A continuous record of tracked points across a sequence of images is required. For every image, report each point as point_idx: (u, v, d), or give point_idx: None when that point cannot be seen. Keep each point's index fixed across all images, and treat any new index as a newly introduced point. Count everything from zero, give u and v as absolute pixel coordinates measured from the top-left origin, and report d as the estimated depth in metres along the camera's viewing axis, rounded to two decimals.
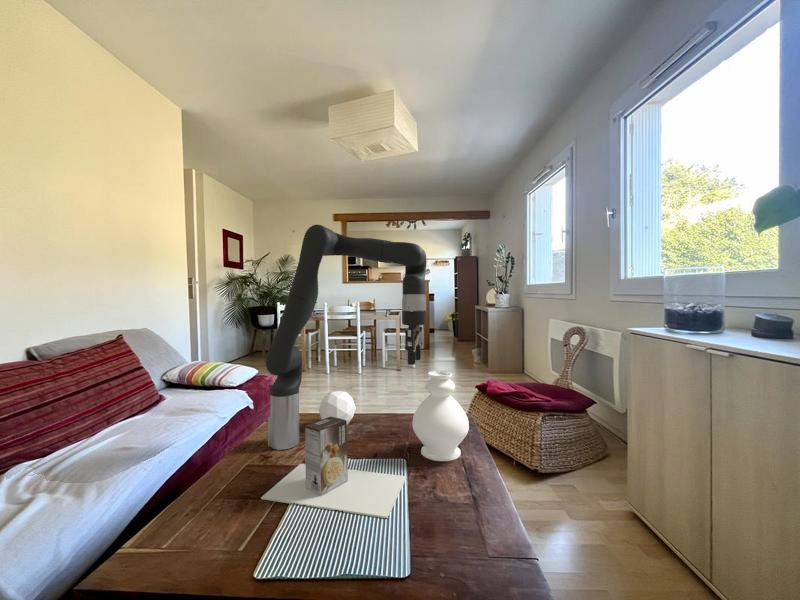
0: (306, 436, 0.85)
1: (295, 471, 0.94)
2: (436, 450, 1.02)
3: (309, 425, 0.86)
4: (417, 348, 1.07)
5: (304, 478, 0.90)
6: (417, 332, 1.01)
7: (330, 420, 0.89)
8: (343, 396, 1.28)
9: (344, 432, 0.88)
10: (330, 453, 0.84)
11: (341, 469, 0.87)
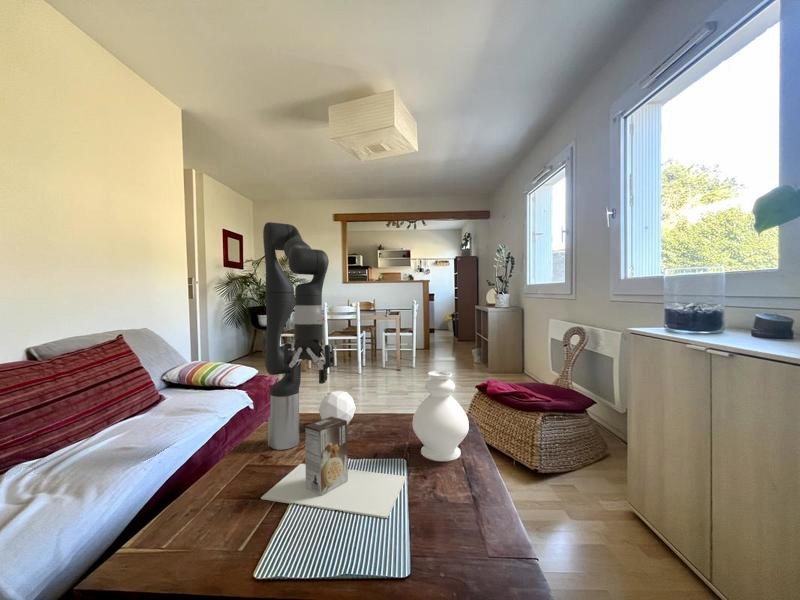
0: (306, 436, 0.85)
1: (295, 471, 0.94)
2: (436, 450, 1.02)
3: (309, 425, 0.86)
4: (296, 367, 0.93)
5: (304, 478, 0.90)
6: None
7: (330, 420, 0.89)
8: (343, 396, 1.28)
9: (344, 433, 0.88)
10: (331, 453, 0.84)
11: (341, 469, 0.87)
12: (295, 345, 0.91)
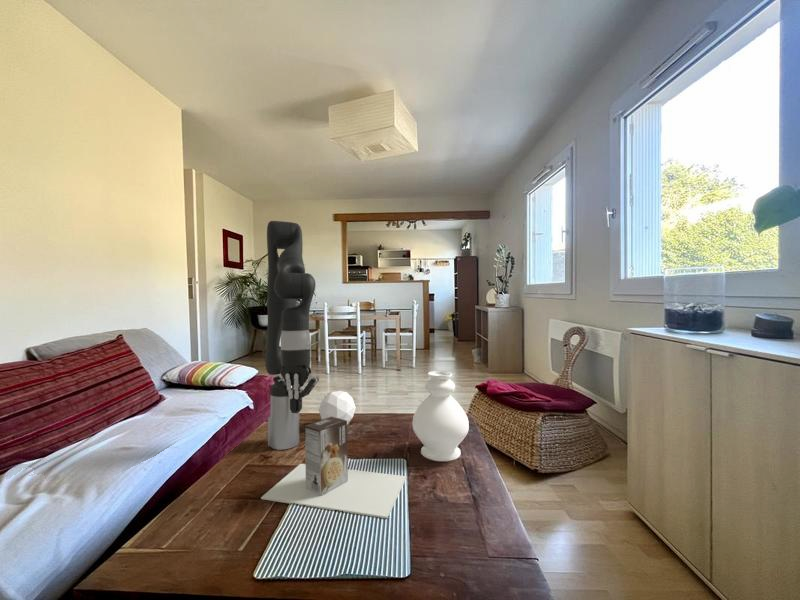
0: (306, 436, 0.85)
1: (295, 471, 0.94)
2: (436, 450, 1.02)
3: (309, 425, 0.86)
4: None
5: (304, 478, 0.90)
6: None
7: (330, 420, 0.89)
8: (343, 396, 1.28)
9: (344, 433, 0.88)
10: (331, 453, 0.84)
11: (341, 469, 0.87)
12: (281, 372, 0.90)
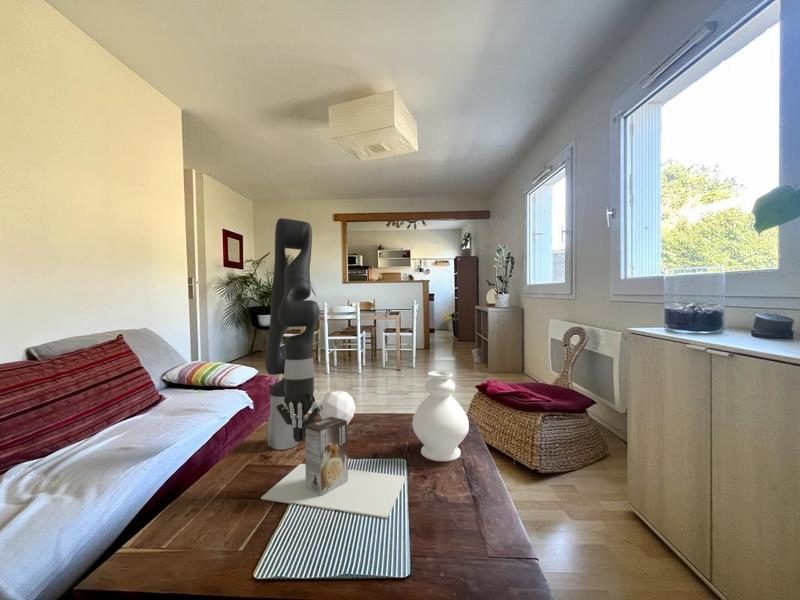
0: (306, 436, 0.85)
1: (295, 471, 0.94)
2: (436, 450, 1.02)
3: (309, 425, 0.86)
4: None
5: (304, 478, 0.90)
6: None
7: (330, 420, 0.89)
8: (343, 396, 1.28)
9: (344, 433, 0.88)
10: (331, 453, 0.84)
11: (341, 469, 0.87)
12: (285, 400, 0.89)
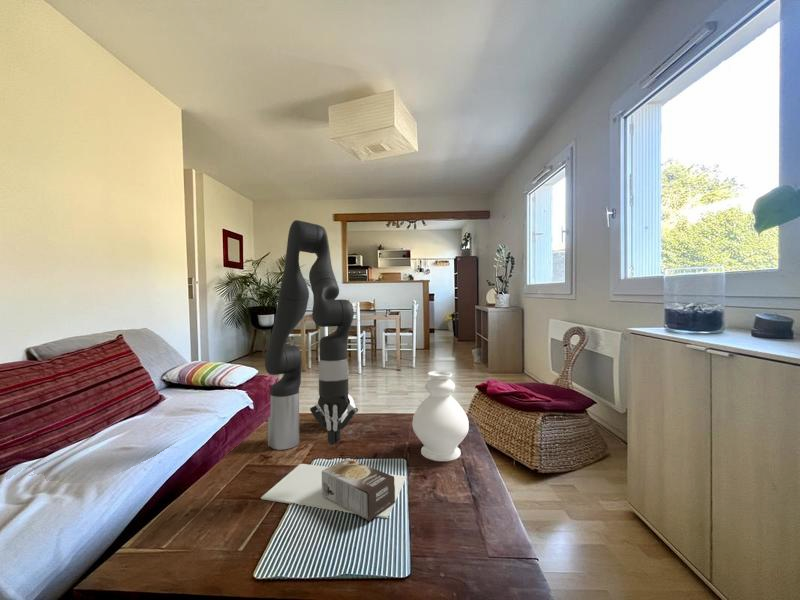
0: (360, 491, 0.73)
1: (295, 471, 0.94)
2: (436, 450, 1.02)
3: (371, 496, 0.72)
4: None
5: (304, 478, 0.90)
6: None
7: (388, 491, 0.77)
8: None
9: None
10: None
11: None
12: (319, 402, 0.87)
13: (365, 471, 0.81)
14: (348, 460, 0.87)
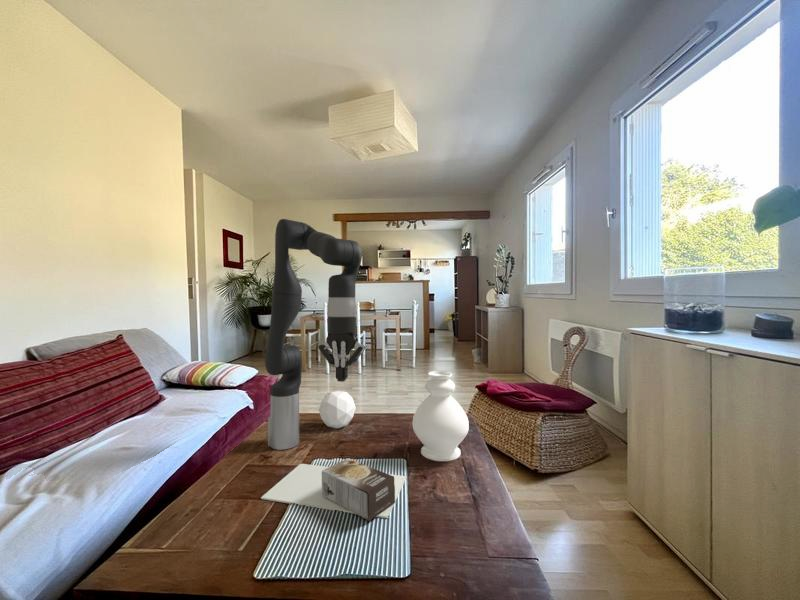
0: (360, 491, 0.73)
1: (295, 471, 0.94)
2: (436, 450, 1.02)
3: (371, 496, 0.72)
4: None
5: (304, 478, 0.90)
6: None
7: (388, 491, 0.77)
8: (343, 396, 1.28)
9: None
10: None
11: None
12: (327, 340, 0.88)
13: (365, 471, 0.81)
14: (348, 460, 0.87)
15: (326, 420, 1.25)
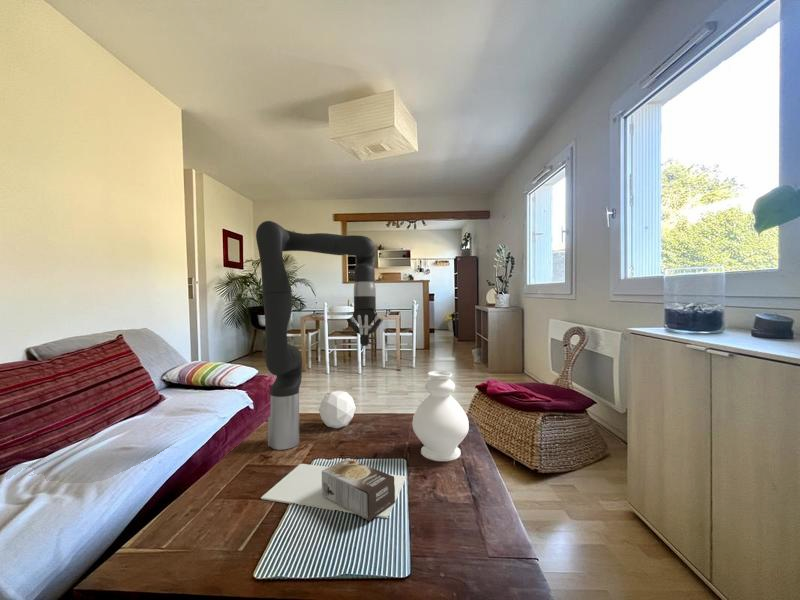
0: (360, 491, 0.73)
1: (295, 471, 0.94)
2: (436, 450, 1.02)
3: (371, 496, 0.72)
4: None
5: (304, 478, 0.90)
6: None
7: (388, 491, 0.77)
8: (343, 396, 1.28)
9: None
10: None
11: None
12: (354, 314, 1.16)
13: (365, 471, 0.81)
14: (348, 460, 0.87)
15: (326, 420, 1.25)
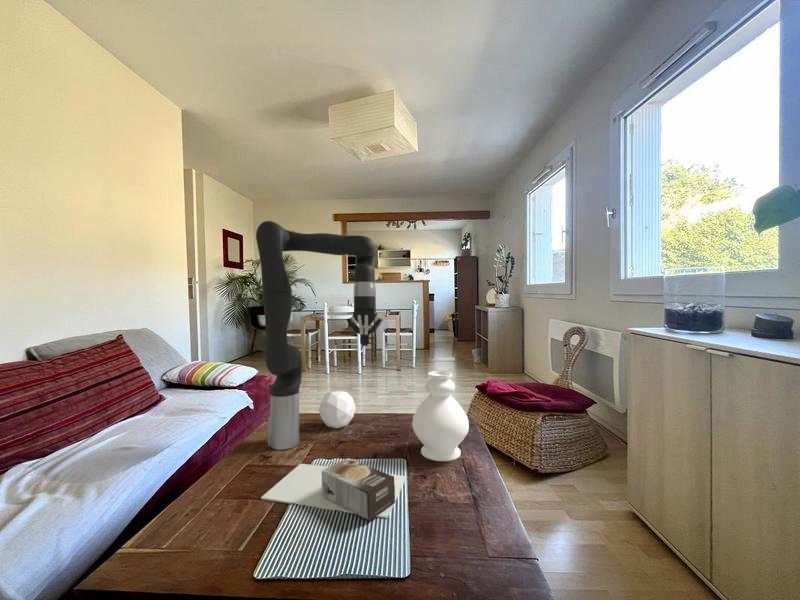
0: (360, 491, 0.73)
1: (295, 471, 0.94)
2: (436, 450, 1.02)
3: (371, 496, 0.72)
4: None
5: (304, 478, 0.90)
6: None
7: (388, 491, 0.77)
8: (343, 396, 1.28)
9: None
10: None
11: None
12: (354, 314, 1.16)
13: (365, 471, 0.81)
14: (348, 460, 0.87)
15: (326, 420, 1.25)
